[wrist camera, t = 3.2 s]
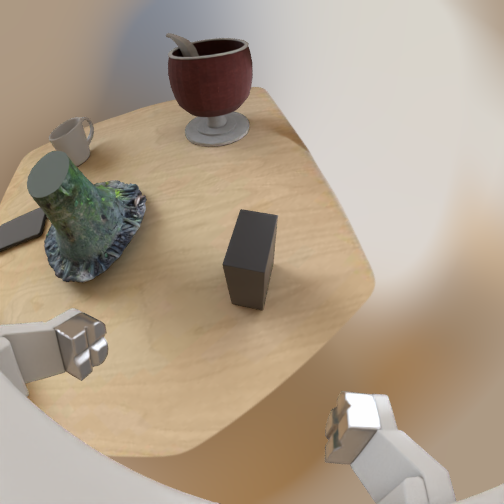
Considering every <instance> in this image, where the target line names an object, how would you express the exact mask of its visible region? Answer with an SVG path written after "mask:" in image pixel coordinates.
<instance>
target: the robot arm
mask: <svg viewBox="0 0 504 504" xmlns="http://www.w3.org/2000/svg"><path fill="white" fill-rule="evenodd" d="M105 334H106V327H105V324H104V323H103V322H101V321H99V320H97V319H95V318H93V317H91V316H89V315H87V314H85V313H83V312H81V311H79V310H77V309H74V308H71V309H69V310H67V311H65V312H64V313H62V314H60V315H58V316H56V317H54V318H53V319H51V320H49V321H47V322H45V323H44V322H32V323H20V324H7V325H0V504H219V503H215V502H212V501H208V500H205V499H202V498H199V497H196V496H193V495H190V494H187V493H184V492H181V491H179V490H176V489H174V488H171V487H169V486H166V485H164V484H161V483H159V482H157V481H154V480H152V479H150V478H148V477H145V476H143V475H141V474H139V473H137V472H135V471H133V470H131V469H129V468H127V467H125V466H123V465H121V464H120V463H118V462H116V461H114V460H112V459H111V458H109V457H107V456H105V455H104V454H102V453H100V452H99V451H97V450H96V449H94V448H92V447H91V446H89V445H88V444H86V443H85V442H83V441H82V440H80V439H79V438H77V437H76V436H74V435H73V434H71V433H70V432H69V431H67V430H66V429H65V428H63V427H62V426H61V425H59V424H58V423H57V422H55V421H54V420H53V419H52V418H50V417H49V416H48V415H47V414H45V413H44V412H43V411H42V410H41V409H40V408H38V407H37V406H36V405H35V404H34V403H33V402H32V401H30V400H29V399H28V398H27V396H28V395H29V392H28V389H27V387H26V385H25V383H29V382H33V381H37V380H40V379H44V378H47V377H51V376H54V375H58V374H61V373H64V372H65V371H66V372H68V373H69V374H71V375H73V376H74V377H76V378H78V379H79V380H81V381H82V380H83V379H84V378H85V377H87V376H88V375H89V374H90V373H91V372H92V370H93V367H94V366H98V365H100V364H102V363H103V362H104V361H105V359H106V357H107V355H108V343H107V341H106V339H105V338H104V336H105ZM325 436H326V437H327V439H328V440H329V441H328V443H327V444H326V446H325V462H328V463H337V464H350V466H351V468H352V469H353V470H354V472H355V474H356V475H357V476H358V478H359V479H360V481H361V483H362V484H363V485H364V487H365V488H366V490H367V491H368V493H369V494H370V496H371V497H372V499H373V500H374V501H375V503H376V504H504V483H503V484H501V485H499V486H497V487H495V488H492V489H490V490H487V491H485V492H483V493H480V494H477V495H475V496H472V497H469V498H466V499H463V500H460V501H457V502H456V498H455V494H454V491H453V487H452V483H451V480H450V476H449V473H448V470H446V469H445V468H444V467H443V466H442V465H441V464H439V463H438V462H437V461H436V460H435V459H434V458H432V457H431V456H430V455H429V454H428V453H427V452H426V451H425V450H423V449H422V448H421V447H420V446H419V445H417V443H415V442H414V441H413V440H412V439H411V438H410V437H409V436H408V435H407V434H405V433H404V432H403V431H402V430H398V429H397V425H396V422H395V418H394V415H393V411H392V408H391V404H390V401H389V397H388V396H387V395H382V394H363V393H354V392H346V391H342V392H341V393H340V395H339V397H338V398H337V407H336V408H334V409H332V410H331V413H330V415H329V417H328V420H327V424H326V430H325Z"/></svg>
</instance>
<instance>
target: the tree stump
mask: <svg viewBox="0 0 504 504" xmlns="http://www.w3.org/2000/svg"><path fill="white" fill-rule="evenodd" d="M27 189H28V191H29V194H30V195H31V196H32V197H33V199H34V200H35V201H36V202H37V204H38V205H39V206H40V207H41V208H42V210H43V211H44V213H45V214H46V216H47V217H48V219H49V220H50V222H51V223H52V224H51V227H50V229H49V231H48V234H47V235H46V239H45V241H44V243H45V245H44V247H45V252H46V255H47V257H48V261H49V265H50V266H51V268H53V269H54V271H55V275H56V276H57V277H58V278H62V279H63V281H66V282H69V281H73V282H75V281H77V282H82V283H83V282H86V281H88V280H91V279H93V278H95V277H96V276H98V275H99V274H100V273H104V271H106V270H107V269H108V268H109V267H110V265H111V264H112V263H113V262H114V261H115V260H117V259H118V258H119V257H120V256H121V254H122V252H123V250H124V249H125V248H126V247H127V245H128V244H129V242H130V241H131V239H132V237H133V236H134V235H135V233H136V231H137V230H138V228H139V227H140V224H141V222H142V219H143V217H144V212H145V210H146V207H145V202H146V200H147V199H146V196H145V195H144V196H142V192H141V191H140V190H139V188H138V186H137V185H136V184H131V183H130V184H124V183H123V182H122V183H121V182H120V181H116V180H115V181H107V182H102V183H96V184H94V185H93V184H92V183H91V182H90V181H89V180H88V179H87V178H86V177H85V176H84V175H83V173H82V172H81V171H80V170H79V169H78V168H77V167H76V166H75V165H74V163H73V162H72V161H71V159H70V158H69V157H68V155H67V154H66V153H65V152H62V151H52V152H50V153H48V154H46V155H45V156H44V157H43V158H41V159H40V160H39V161H38V162H37V164H36V165H35V166H34V167H33V168H32V170H31V172H30V174H29V176H28V181H27Z"/></svg>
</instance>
